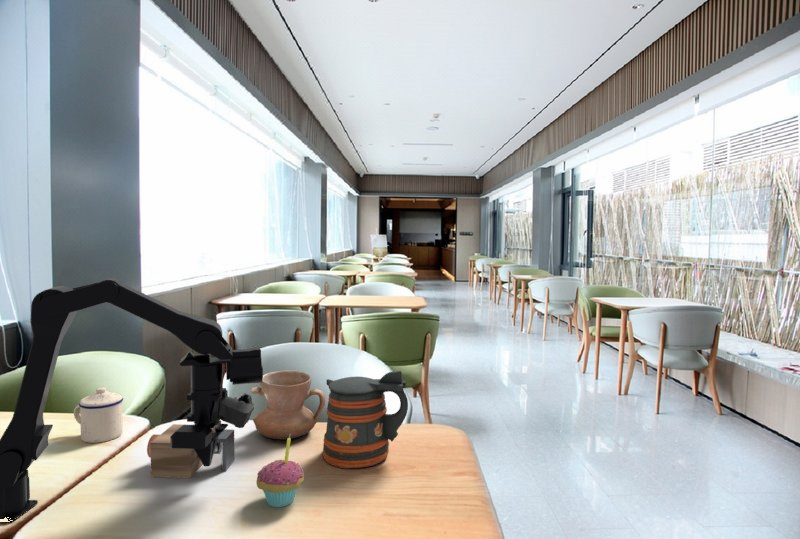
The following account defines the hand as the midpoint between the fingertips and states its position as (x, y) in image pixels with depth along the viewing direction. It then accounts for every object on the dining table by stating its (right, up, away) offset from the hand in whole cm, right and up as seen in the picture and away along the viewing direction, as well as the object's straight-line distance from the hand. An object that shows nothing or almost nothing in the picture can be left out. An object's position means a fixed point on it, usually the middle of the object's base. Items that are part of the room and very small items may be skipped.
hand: (207, 465), depth 99 cm
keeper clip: (-1, -3, +9) cm, 10 cm away
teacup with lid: (-35, -2, +23) cm, 42 cm away
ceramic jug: (+10, -3, +27) cm, 29 cm away
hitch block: (-8, -3, +8) cm, 12 cm away
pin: (-7, -1, +8) cm, 11 cm away
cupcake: (+15, -5, -5) cm, 17 cm away
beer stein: (+30, -4, +15) cm, 33 cm away
